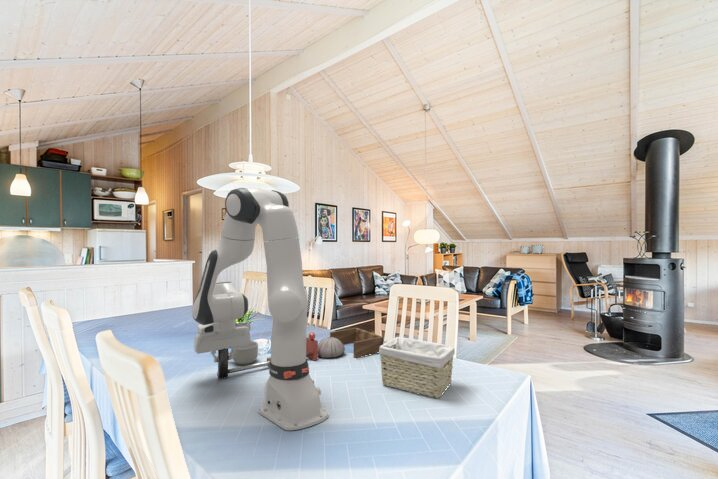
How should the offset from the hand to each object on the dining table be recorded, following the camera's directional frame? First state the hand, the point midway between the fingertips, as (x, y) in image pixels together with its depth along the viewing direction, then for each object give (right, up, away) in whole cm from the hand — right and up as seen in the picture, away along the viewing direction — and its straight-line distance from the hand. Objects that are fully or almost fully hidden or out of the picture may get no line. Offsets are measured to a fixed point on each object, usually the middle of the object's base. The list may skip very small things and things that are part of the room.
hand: (223, 360), depth 133 cm
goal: (+50, -7, +36) cm, 62 cm away
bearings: (+21, -7, +15) cm, 27 cm away
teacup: (+1, -7, +17) cm, 18 cm away
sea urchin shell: (+39, -7, +28) cm, 48 cm away
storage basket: (+73, -7, -6) cm, 73 cm away
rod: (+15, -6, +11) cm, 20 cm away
